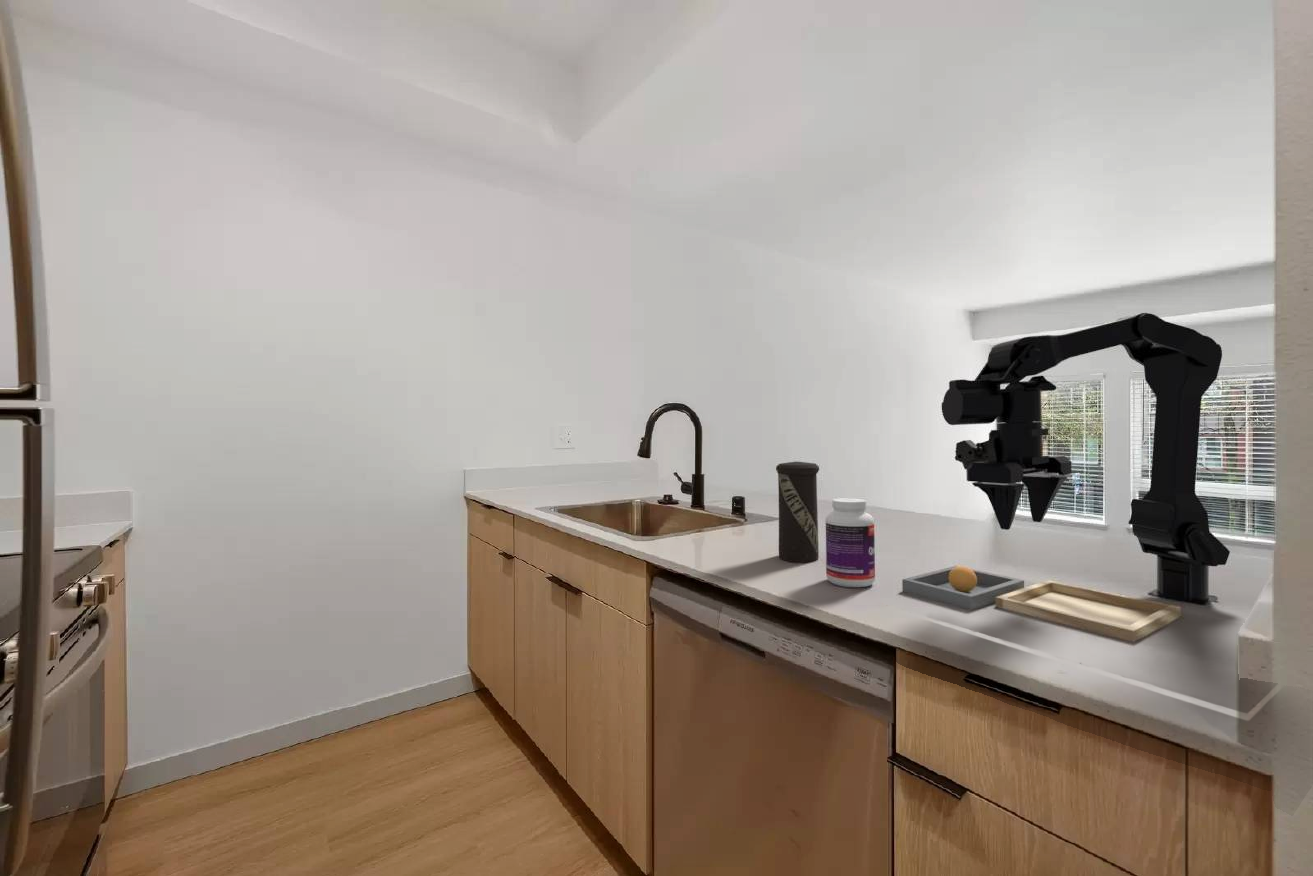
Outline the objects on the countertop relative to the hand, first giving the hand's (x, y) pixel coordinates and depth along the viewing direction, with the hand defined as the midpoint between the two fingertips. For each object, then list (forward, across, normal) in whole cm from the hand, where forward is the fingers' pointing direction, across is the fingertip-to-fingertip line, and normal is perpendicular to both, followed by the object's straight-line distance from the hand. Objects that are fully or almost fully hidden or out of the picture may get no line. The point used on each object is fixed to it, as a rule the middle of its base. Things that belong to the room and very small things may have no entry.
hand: (1021, 525), depth 83 cm
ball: (+11, +4, -7) cm, 14 cm away
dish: (+12, -1, +7) cm, 14 cm away
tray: (+12, +4, -7) cm, 14 cm away
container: (+11, +8, -40) cm, 42 cm away
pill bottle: (+11, +13, -21) cm, 28 cm away
